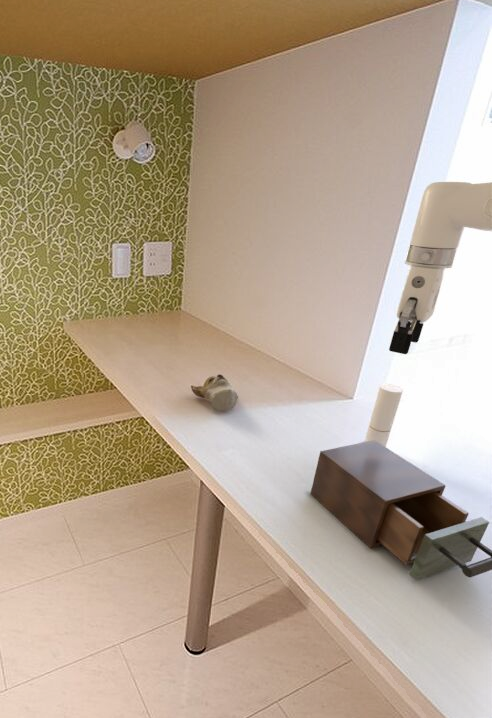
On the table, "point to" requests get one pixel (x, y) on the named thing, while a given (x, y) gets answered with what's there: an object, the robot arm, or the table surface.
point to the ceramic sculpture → (217, 393)
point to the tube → (384, 413)
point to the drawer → (434, 536)
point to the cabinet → (367, 485)
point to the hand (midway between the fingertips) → (403, 346)
